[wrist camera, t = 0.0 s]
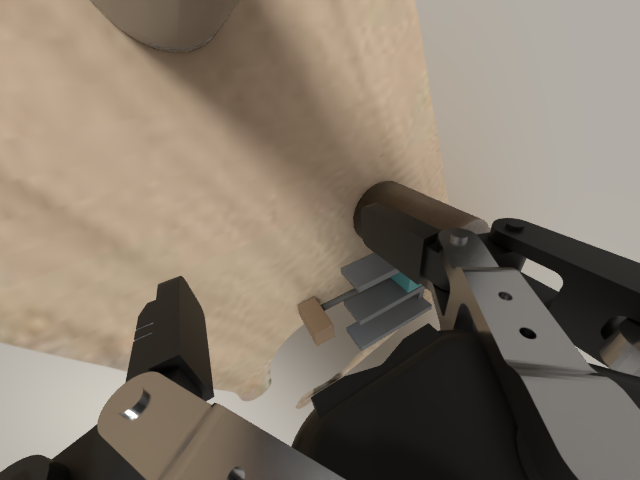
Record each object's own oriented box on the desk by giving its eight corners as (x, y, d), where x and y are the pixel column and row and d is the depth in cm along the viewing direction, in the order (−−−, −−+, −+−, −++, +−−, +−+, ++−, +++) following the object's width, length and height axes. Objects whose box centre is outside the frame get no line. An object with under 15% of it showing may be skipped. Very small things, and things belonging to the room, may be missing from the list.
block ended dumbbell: (296, 300, 37) (313, 330, 32) (415, 244, 45) (442, 261, 40) (301, 320, 40) (317, 350, 35) (412, 264, 48) (437, 282, 43)
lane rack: (341, 268, 39) (359, 287, 35) (423, 230, 44) (446, 243, 41) (346, 331, 49) (361, 351, 45) (413, 293, 54) (431, 308, 51)
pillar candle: (341, 217, 34) (426, 282, 22) (389, 165, 33) (500, 206, 22) (370, 248, 40) (447, 311, 29) (411, 206, 40) (505, 253, 28)
